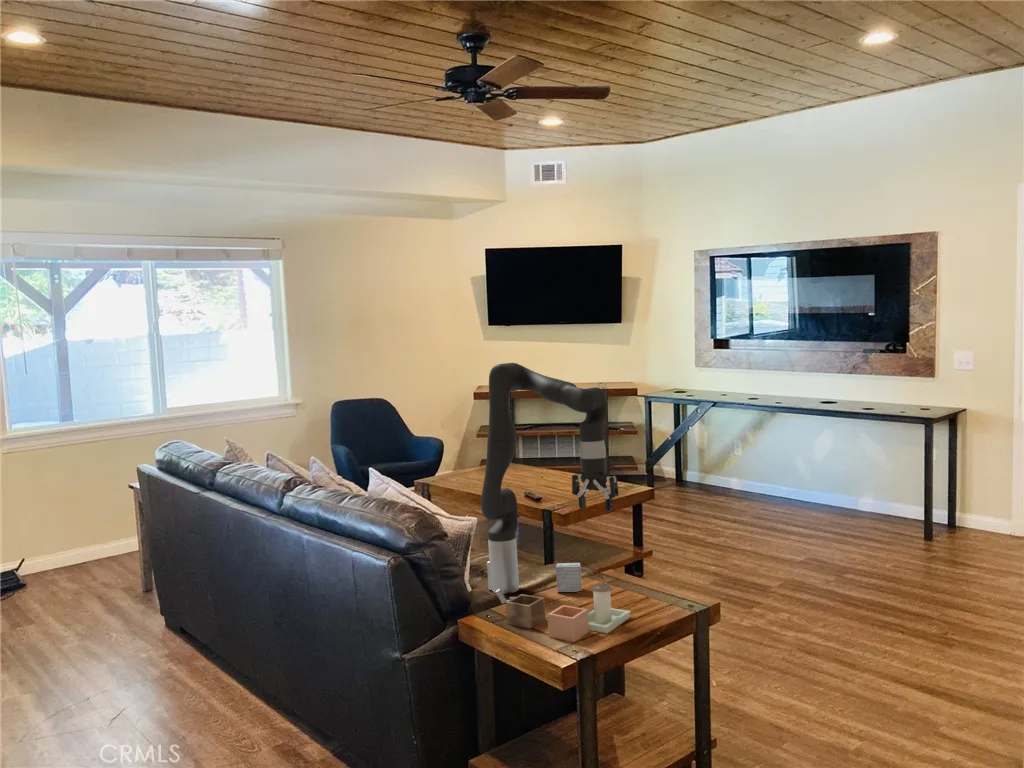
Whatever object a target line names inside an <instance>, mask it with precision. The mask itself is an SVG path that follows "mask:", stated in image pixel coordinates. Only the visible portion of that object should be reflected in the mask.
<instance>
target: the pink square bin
mask: <svg viewBox="0 0 1024 768" xmlns="http://www.w3.org/2000/svg"><path fill="white" fill-rule="evenodd" d="M588 613H589V609H587V608H583V607H577V606H571V605H565V604H562V605H560V606H558V607H557V608H555V609H554V610H552V611H550V612H549V613H547V626H548V627H547V628H548V638H553V639H556V640H557V639H558V640H562V641H567V642H573V643H575V642H576V641H578V640H580V639H581V638H583V637H584V636H586V635H587V634H588V633H589V632H590V630H589V619H588Z"/></svg>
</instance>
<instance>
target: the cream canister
mask: <svg viewBox="0 0 1024 768" xmlns="http://www.w3.org/2000/svg"><path fill="white" fill-rule="evenodd" d="M591 589H592V594H593V595H592V596H593V597H592V599H593V610H594V618H595V623H597V624H608V623H610V622H611V621H612V615H611V608H612V598H611V584H609V583H608V584H607V583H596V584H593V585H592V587H591Z"/></svg>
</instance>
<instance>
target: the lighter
mask: <svg viewBox="0 0 1024 768" xmlns="http://www.w3.org/2000/svg"><path fill="white" fill-rule="evenodd" d="M495 594H496V595H497V597H498V599H499V600H500V602H501V604H502V605H504V604H506V602H507V601H509V600H511V599H513V598H515V597H516V596H509V599H507V598H506V597H505V594H503V593H502V591H501V589H500V588H499V589H497V590H496V593H495Z"/></svg>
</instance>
